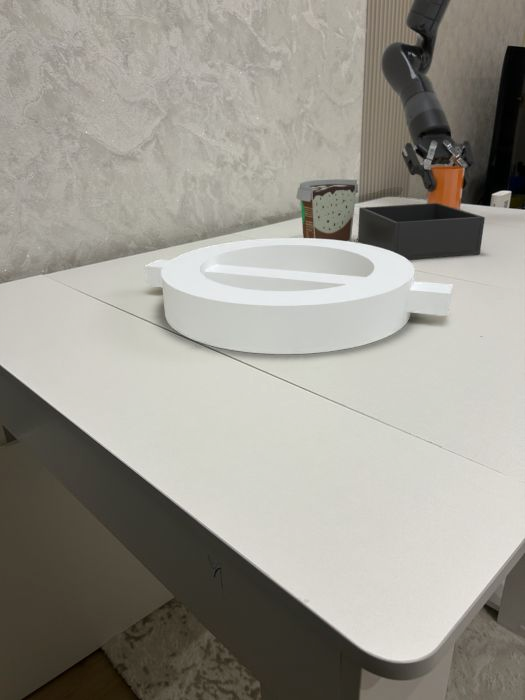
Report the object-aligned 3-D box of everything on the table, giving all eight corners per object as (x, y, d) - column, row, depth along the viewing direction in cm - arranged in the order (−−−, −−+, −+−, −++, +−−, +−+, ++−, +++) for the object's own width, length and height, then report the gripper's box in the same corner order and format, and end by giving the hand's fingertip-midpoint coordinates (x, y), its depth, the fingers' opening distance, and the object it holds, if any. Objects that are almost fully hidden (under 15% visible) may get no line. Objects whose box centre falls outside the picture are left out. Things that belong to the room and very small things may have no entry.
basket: (434, 235, 96) (437, 202, 94) (479, 254, 83) (485, 217, 81) (357, 240, 93) (359, 207, 91) (392, 261, 81) (395, 222, 78)
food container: (328, 235, 98) (329, 177, 94) (356, 240, 94) (358, 179, 90) (280, 247, 90) (280, 184, 86) (308, 253, 86) (309, 187, 82)
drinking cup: (448, 211, 113) (453, 165, 110) (465, 216, 107) (471, 168, 104) (420, 213, 112) (424, 167, 108) (435, 218, 106) (440, 170, 103)
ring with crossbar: (141, 289, 71) (137, 252, 69) (331, 262, 80) (332, 230, 79) (210, 376, 47) (206, 324, 45) (466, 324, 57) (472, 280, 55)
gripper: (400, 108, 107) (422, 177, 101) (466, 106, 110) (492, 173, 104) (387, 136, 114) (407, 202, 108) (450, 133, 117) (473, 198, 111)
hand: (449, 188), depth 106 cm, fingers closed on drinking cup, 6 cm apart
